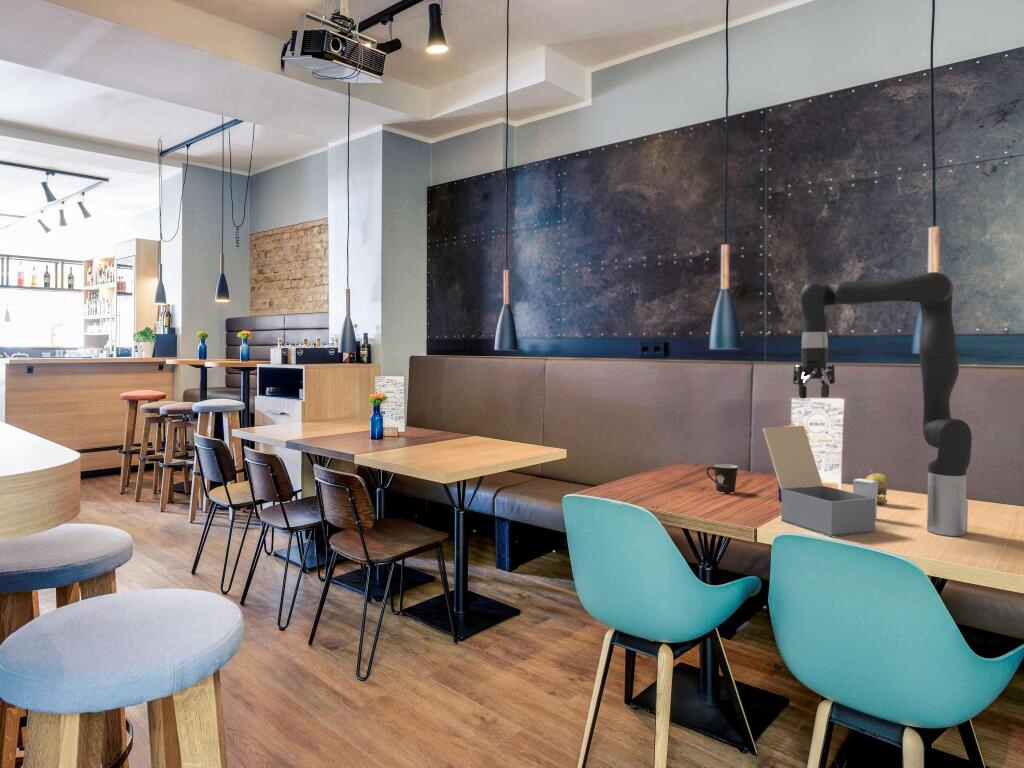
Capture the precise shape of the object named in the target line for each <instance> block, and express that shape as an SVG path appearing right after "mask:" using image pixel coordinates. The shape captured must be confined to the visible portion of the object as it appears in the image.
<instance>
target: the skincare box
mask: <svg viewBox="0 0 1024 768" xmlns="http://www.w3.org/2000/svg"><path fill="white" fill-rule="evenodd" d="M852 481H853V482H852V483H853V484H852V493H856V494H860V495H864V496H869V497H873V498H875V520H876V519H877V508H878V504H877V496H878V495H877V494H878V481H873V480H867V479H865V478H856V479H853V480H852Z"/></svg>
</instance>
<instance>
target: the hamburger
mask: <svg viewBox="0 0 1024 768" xmlns="http://www.w3.org/2000/svg"><path fill="white" fill-rule="evenodd" d="M868 471H869V472H870V473H871V474H869V475H867V476H866V477H865V478H864V479H867V480H873V481H878V494H877V503H878V504H877V505H886V504H887V503H888V499H886V496H887V492H888V489H887V488H886V487H887V486H888V485H889V483H890V480H889V478H888V477H887V475H885V474H883V473H879V472H878V473H874V472H873V470H868ZM869 472H868V473H869Z"/></svg>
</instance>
